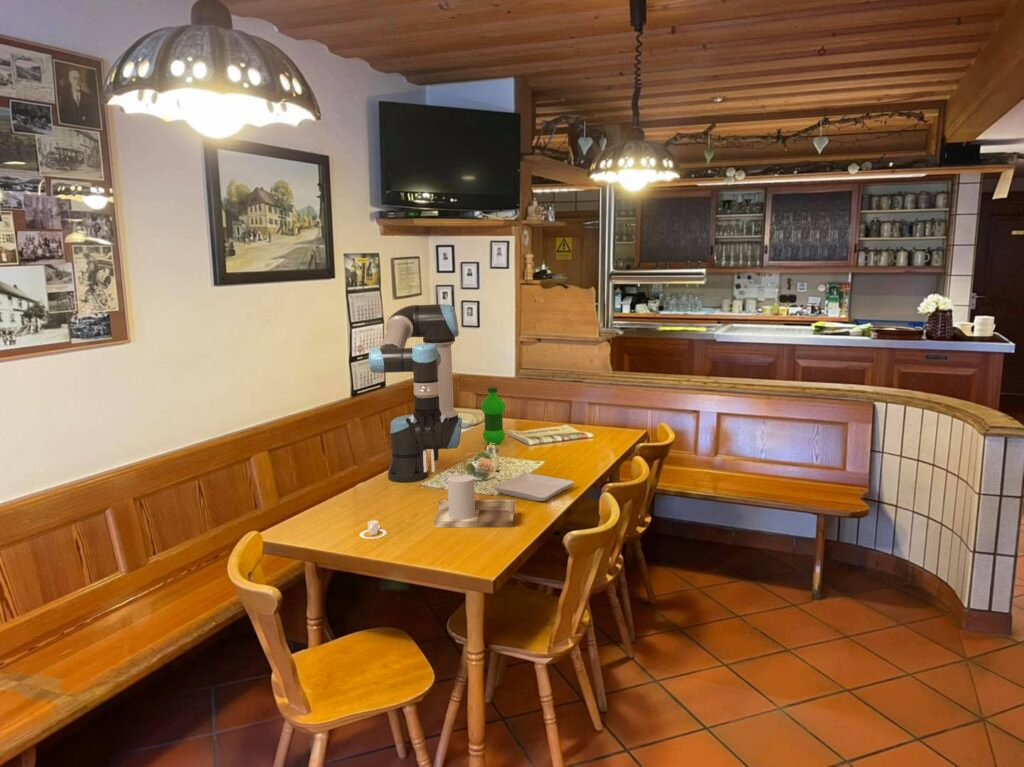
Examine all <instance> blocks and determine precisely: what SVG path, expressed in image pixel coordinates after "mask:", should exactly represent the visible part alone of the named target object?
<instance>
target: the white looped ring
mask: <svg viewBox="0 0 1024 767" xmlns="http://www.w3.org/2000/svg"><path fill="white" fill-rule="evenodd" d="M367 532H368V533H369V535H370V536H371V537H368V536H365V533H367ZM379 532H382V534H381V535H379V536H376V535H378V533H379ZM387 533H388V532H387V531H386V530H385V529H381V526H380V524H379V521H378V520H369V521H367V530H363V531H361V532H360V533H359V537H360V538H362V539H366V540H367V539H368V540H369V539H371V540H372V539H373V540H374V539H379V538H382V537H385V536H386V535H387ZM373 536H374V537H373Z"/></svg>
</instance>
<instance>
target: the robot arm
mask: <svg viewBox="0 0 1024 767" xmlns="http://www.w3.org/2000/svg"><path fill="white" fill-rule="evenodd" d="M459 335H460V330H459V322H458V317H457V313H456V309H455V307H454V306H453V305H452V304H445V303H444V304H442V303H440V304H439V303H438V304H437V303H436V304H413V305H412V304H411V305H407V306H404V307H402V308H400V309H399V310H397V311H396V312H394V313H393V314H392V315H390V317H389V318H388V319H387V322H386V325H385V335H384V338H383V339H382V342H381V345H380V347H378V348H373V349H370V350H369V351H368V352H369V353H368V367H369V370H370V372H371V373H379V374H385V373H386V374H387V373H413V374H412V375H413V395H414V399H413V401H414V402H413V403H414V411H413V414H406V415H401V416H397V417H395V418H394V419H392V420H391V422H390V432H389V433H390V443H391V444H390V447H391V460H390V463H389V467H388V470H387V478H388V480H390V481H392V482H397V483H412V482H418V481H423V480H425V479H427V478H428V477H429V468H428V464H429V463H428V450H431V451H430V456H431V457H430V458H431V460H430V461H431V473H435V471H436V469H437V468H436V466H437V465H436V462H437V461H439V450H451V449H457V448H458V447H459V446H460V443H461V434H462V425H463V424H462V423H463V418H462V417H460V416H459V412H458V411H457V410H456V409H455V408H454V389H453V388H454V385H453V361H452V360H453V359H452V358H453V356H452V345H453V344H454V343H455V342H456V338H457V337H459ZM410 338H423V339H422V341H423V343H419V344H414V345H413V346H412V347H406V344H407V342H408V340H409V339H410Z"/></svg>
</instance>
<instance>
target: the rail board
mask: <svg viewBox="0 0 1024 767" xmlns="http://www.w3.org/2000/svg"><path fill="white" fill-rule="evenodd" d="M437 503H438V511H437V514H436V516H435V517H434V521H433V525H434V526H433V527H434V528H437V529H438V528H514V522H515V513H516V512H515V511H516V510H515V499H475V516H474V517H473V518H471V519H466V520H455V519H451V518H450V517H449V506H448V499H447V500H446V499H441V500H440V499H439V500H438V502H437Z"/></svg>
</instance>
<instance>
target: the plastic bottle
mask: <svg viewBox="0 0 1024 767" xmlns="http://www.w3.org/2000/svg"><path fill="white" fill-rule="evenodd" d="M487 392H488V396H487V397H485V399H483V400H482V402H481V405H480V408H481V409H480V410H481V412H483V415H484V418H483V419H484V430H483V431H482V437H483V438H482V439H484V441H485V442H487V443H490V442H491V443H495V444H496V445H499V444H501V442H502V441H503V440H504V439H505V437H506V432H505V430H504V428H503V427H504V426H503V424H504V423H503V413H504V412H505V410H506V404H505V401H504V400H503V399H502V398H500V397H499V396H498V395H497V392H498V387H497V386H489V387H487Z"/></svg>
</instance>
